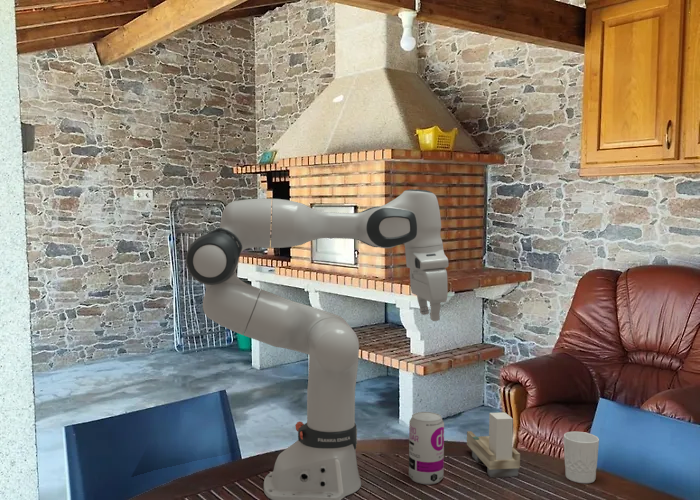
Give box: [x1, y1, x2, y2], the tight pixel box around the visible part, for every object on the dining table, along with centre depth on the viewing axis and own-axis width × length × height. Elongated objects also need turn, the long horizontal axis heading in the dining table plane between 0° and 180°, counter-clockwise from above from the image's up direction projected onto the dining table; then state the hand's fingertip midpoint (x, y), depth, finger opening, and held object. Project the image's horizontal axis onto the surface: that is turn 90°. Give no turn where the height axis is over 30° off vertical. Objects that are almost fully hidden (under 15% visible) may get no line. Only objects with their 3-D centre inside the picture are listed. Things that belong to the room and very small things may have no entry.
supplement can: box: [408, 411, 445, 485], centre depth 148 cm, size 8×8×15 cm
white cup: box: [563, 431, 600, 484], centre depth 150 cm, size 8×8×10 cm
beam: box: [466, 430, 521, 478], centre depth 158 cm, size 8×17×6 cm, turn 8°
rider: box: [488, 412, 514, 460], centre depth 152 cm, size 4×5×10 cm
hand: (429, 317), depth 146 cm, fingers open, 8 cm apart
